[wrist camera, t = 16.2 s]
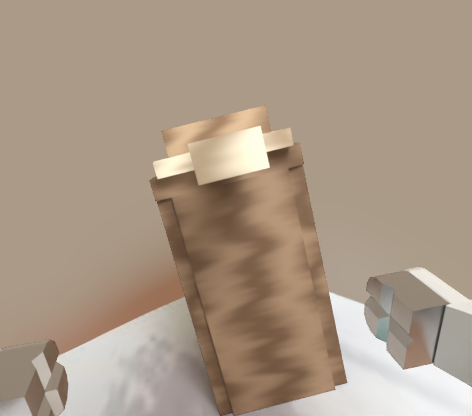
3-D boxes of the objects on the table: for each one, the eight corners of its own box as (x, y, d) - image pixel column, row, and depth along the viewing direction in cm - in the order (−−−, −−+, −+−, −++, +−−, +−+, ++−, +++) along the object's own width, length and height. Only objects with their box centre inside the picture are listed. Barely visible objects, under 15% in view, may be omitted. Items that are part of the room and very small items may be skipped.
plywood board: (111, 207, 16) (80, 111, 15) (177, 167, 43) (167, 132, 43) (355, 146, 16) (338, 47, 15) (267, 144, 44) (259, 109, 43)
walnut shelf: (220, 419, 35) (149, 180, 30) (218, 321, 55) (175, 166, 50) (348, 386, 36) (299, 142, 31) (301, 300, 55) (266, 143, 50)
